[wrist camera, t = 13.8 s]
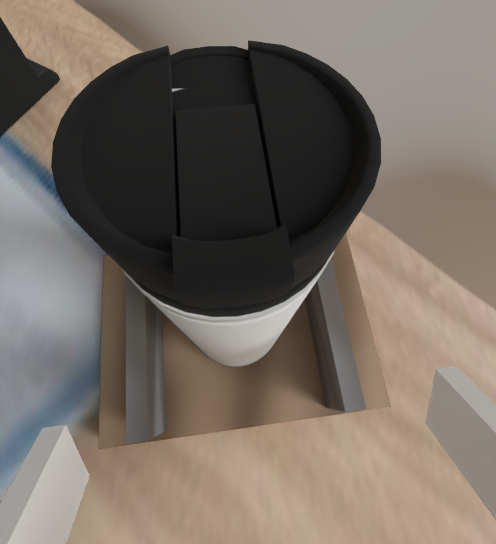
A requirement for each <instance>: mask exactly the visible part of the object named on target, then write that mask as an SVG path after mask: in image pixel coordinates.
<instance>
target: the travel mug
mask: <svg viewBox="0 0 496 544" xmlns="http://www.w3.org/2000/svg"><path fill="white" fill-rule="evenodd" d="M380 164H381V138H380V135H379V131H378V128H377V124H376V121H375V117H374V115H373V113H372V112H371V110H370V108H369V106H368V105H367V103H366V101H365V100H364V98H363V96H362V95H361V94H360V93H359V92H358V91H357V90H356V89H355V87H354V86H353V85H352V84H351V83H350V82H349V81H348V80H347V79H346V78H345V77H343V76H342V75H341V74H339V73H338V72H337V71H335V70H334V69H333V68H331V67H330V66H329V65H327V64H325V63H323V62H321V61H320V60H318V59H316V58H314V57H312V56H310V55H308V54H306V53H303V52H300V51H298V50H295V49H292V48H289V47H287V46H284V45H278V44H270V43H263V42H256V41H248V50H246V49H242V48H238V47H234V46H215V47H214V46H210V47H209V46H208V47H201V48H193V49H185V50H182V51H180V52H177V53H175V54H173V55H170V52H169V48H168V46H165V47H162V48H158V49H155V50H151V51H147V52H144V53H140V54H136V55H133V56H131V57H129V58H127V59H125V60H123V61H122V62H120V63H118V64H116V65H114V66H112V67H110V68H109V69H108V70H106V71H105V72H104V73H102V74H101V75H99V76H98V77H97V78H95V79H94V80H93V81H91V82H90V83H89V84H88V85H87V86H86V87H85V88H84V89H83V90H82V91H81V92H80V94H79V95H78V96H77V97H76V98H75V99H74V100H73V102H72V103H71V105H70V106H69V108H68V109H67V111H66V112H65V114H64V115H63V117H62V119H61V121H60V124H59V127H58V129H57V132H56V135H55V138H54V141H53V151H52V165H51V167H52V172H53V177H54V181H55V186H56V190H57V193H58V195H59V196H60V198H61V200H62V202H63V204H64V205H65V207H66V209H67V211H68V213H69V215H70V216H71V217H72V218H73V219H74V220H75V221H76V222H77V223H78V224H79V225H80V226H81V227H82V228H83V229H84V230H85V231H86V232H87V233H88V235H89V236H90V237H91V238H92V239H93V240H94V241H95V242H96V243H97V244H98V245H99V246H100V247H101V248H102V249H103V250H104V251H105V252H106V253H107V254H108V255H109V256H110V257H111V258H112V259H113V260H114V261H115V262H116V263H117V264H118V265H119V266H120V267H121V268H122V270H123V271H124V273H125V275H126V276H127V277H128V278H129V279H130V280H131V281H132V282H133V283H134V284H135V285H136V286H137V287H138V288H139V289H140V291H141V292H142V293H143V294H144V295H145V296H147V297H148V298H149V299H150V300H151V301H152V302H153V303H154V304H155V305H156V306H157V307H158V308H159V309H160V310H161V311H162V312H163V313H164V314H165V315H166V316H167V317H168V318H169V319H170V320H171V321H172V322H173V323H174V324H175V325H176V326H177V327H178V328H179V329H180V330H181V331H182V332H183V333H184V334H185V335H186V336H187V337H189V338H190V339H191V340H192V341H193V342H194V343H195V344H196V345H197V346H198V347H199V348H200V349H201V350H202V351H203V352H204V353H205V354H206V355H207V356H208V357H209V358H211V359H212V360H214V361H215V362H217V363H219V364H222V365H225V366H230V367H242V366H247V365H250V364H252V363H255V362H257V361H258V360H260V359H261V358H262V357H264V356H265V355H266V354H267V353H268V351H269V350H270V349H271V347H272V346H273V345H274V343H275V342H276V340H277V339H278V337H279V336H280V334H281V333H282V331H283V330H284V328H285V327H286V325H287V324H288V323H289V321H290V320H291V318H292V317H293V315H294V314H295V312H296V311H297V309H298V308H299V306H300V305H301V303H302V302H303V300H304V299H305V298H306V296H307V295H308V293H309V292H310V290H311V289H312V287H313V286H314V284H315V283H316V281H317V279H318V278H319V277H320V275H321V274H322V272H323V271H324V269H325V267H326V266H327V264H328V262H329V261H330V259H331V257H332V256H333V254H334V251H335V249H336V247H337V245H338V244H339V242H340V241H341V239H342V238H343V236H344V235H345V233H346V232H347V230H348V229H349V227H350V225H351V224H352V222H353V221H354V219H355V218H356V216H357V215H358V213H359V212H360V210H361V209H362V207H363V205H364V204H365V202H366V200H367V198H368V197H369V195H370V193H371V192H372V190H373V188H374V186H375V183H376V179H377V175H378V172H379V168H380Z"/></svg>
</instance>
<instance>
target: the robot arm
mask: <svg viewBox="0 0 496 544" xmlns="http://www.w3.org/2000/svg"><path fill="white" fill-rule="evenodd" d="M426 424H427V426H428V427H429V428H430V430H431V431H432V432H433V434H434V435H435V437H436V438H437V439H438V441H439V442H440V443H441V445H442V446H443V448H444V449H445V450H446V452H447V453H448V455H449V456H450V457H451V459H452V460H453V461H454V463H455V464H456V466H457V467H458V468H459V470H460V471H461V472H462V474H463V475H464V477H465V478H466V479H467V481H468V482H469V483H470V485H471V486H472V488H473V489H474V490H475V492H476V493H477V494H478V496H479V497H480V499H481V500H482V501H483V503H484V504H485V506H486V507H487V508H488V510H489V511H490V512H491V514H492V515H493V517H494V518H495V519H496V404H495V403H494V402H493V401H492V400H491V399H490V398H489V397H488V396H487V395H486V394H485V393H484V392H483V391H481V390H480V389H479V388H478V387H477V386H476V385H475V384H474V383H473V382H472V381H471V380H470V379H469V378H468V377H467V376H466V375H465V374H464V373H463V372H462V371H461V370H460V369H459V368H458V367H457V366H451V367H445V368H438V369H436V371H435V376H434V382H433V387H432V392H431V397H430V402H429V407H428V413H427V418H426ZM89 477H90V476H89V474H88V472H87V470H86V467H85V465H84V463H83V461H82V459H81V457H80V454H79V452H78V450H77V448H76V446H75V444H74V441H73V439H72V437H71V435H70V433H69V431H68V428H67V426H66V424H65V425H58V426H52V427H45V428H42V430H41V431H40V433H39V435H38V437H37V439H36V440H35V442H34V444H33V446H32V447H31V449H30V451H29V453H28V455H27V456H26V458H25V460H24V462H23V464H22V465H21V467H20V469H19V471H18V473H17V474H16V476H15V478H14V480H13V481H12V483H11V485H10V487H9V489H8V490H7V492H6V494H5V496H4V498H3V499H2V501H1V503H0V544H66V543H67V540H68V538H69V535H70V532H71V529H72V526H73V523H74V520H75V517H76V514H77V512H78V509H79V506H80V503H81V500H82V497H83V494H84V491H85V488H86V486H87V483H88V480H89Z"/></svg>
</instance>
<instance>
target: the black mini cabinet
mask: <svg viewBox="0 0 496 544" xmlns="http://www.w3.org/2000/svg"><path fill="white" fill-rule="evenodd" d="M59 80H60V78H59V76H58V74H57V73H56V72H54V71H52V70H51V69H48V68H46V67H44V66H42V65H40V64H38V63H35V62H33V61H31V60H29V59H27V58H26V57H25V55H24V54H23V52H22V50H21V49H20V48H19V46H18V45H17V43H16V41H15V40H14V38H13V37H12V35H11V33H10V32H9V30H8V29H7V27H6V25H5V24H4V22H3V21H2V19H1V18H0V136H1V135H2V134H3V133H4V132H5V131H6V130H7V129H8V128H9V127H10V126H11V125H13V124H14V123H15V122H16V121H17V120H18V119H19V118H20V117H21V116H22V115H23V114H24V113H25V112H26V111H27V110H29V109H30V108H31V107H32V106H33V105H34V104H35V103H36V102H37V101H38V100H39V99H41V97H42V96H43V95H44V94H46V93H47V92H48V91H49V90H50V89H51V88H52V87H53V86H54V85H55V84H56V83H57V82H58V81H59Z"/></svg>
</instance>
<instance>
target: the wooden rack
mask: <svg viewBox="0 0 496 544" xmlns="http://www.w3.org/2000/svg"><path fill="white" fill-rule="evenodd" d="M384 407H391V405H390V401H389V397H388V393H387V389H386V385H385V381H384V378H383V374H382V370H381V366H380V362H379V358H378V355H377V351H376V347H375V343H374V339H373V335H372V332H371V328H370V324H369V320H368V316H367V312H366V308H365V305H364V301H363V297H362V293H361V289H360V285H359V282H358V278H357V274H356V270H355V266H354V262H353V258H352V255H351V251H350V247H349V243H348V239H347V235H346V233H345V235H344V236H343V238H342V239H341V241H340V242H339V244H338V245H337V247H336V249H335V251H334V254H333V256H332V257H331V259H330V261H329V262H328V264H327V266H326V267H325V269H324V271H323V272H322V274H321V275H320V277H319V278H318V279H317V281H316V283H315V284H314V286H313V287H312V289H311V290H310V292H309V293H308V295H307V296H306V298H305V299H304V300H303V302H302V303H301V305H300V306H299V308H298V309H297V311H296V312H295V314H294V315H293V317H292V318H291V320H290V321H289V323H288V324H287V325H286V327H285V328H284V330H283V331H282V333H281V334H280V336H279V337H278V339H277V340H276V342H275V343H274V345H273V346H272V347H271V349H270V350H269V351H268V353H267V354H266V355H265V356H264V357H262V358H261V359H260V360H258V361H257V362H255V363H252V364H250V365H247V366H242V367H230V366H225V365H222V364H219V363H217V362H215V361H214V360H212V359H211V358H209V357H208V356H207V355H206V354H205V353H204V352H203V351H202V350H201V349H200V348H199V347H198V346H197V345H196V344H195V343H194V342H193V341H192V340H191V339H190V338H189V337H187V336H186V335H185V334H184V333H183V332H182V331H181V330H180V329H179V328H178V327H177V326H176V325H175V324H174V323H173V322H172V321H171V320H170V319H169V318H168V317H167V316H166V315H165V314H164V313H163V312H162V311H161V310H160V309H159V308H158V307H157V306H156V305H155V304H154V303H153V302H152V301H151V300H150V299H149V298H148V297H147V296H145V295H144V294H143V293H142V292H141V291H140V289H139V288H138V287H137V286H136V285H135V284H134V283H133V282H132V281H131V280H130V279H129V278H128V277H127V276H126V275H125V273H124V271H123V270H122V268H121V267H120V266H119V265H118V264H117V263H116V262H115V261H114V260H113V259H112V258H111V257H110V256H109V255H103V289H102V330H101V370H100V411H99V449H102V448H109V447H116V446H123V445H130V444H137V443H143V442H150V441H157V440H164V439H171V438H178V437H185V436H192V435H199V434H205V433H212V432H219V431H226V430H233V429H240V428H247V427H254V426H260V425H267V424H274V423H281V422H288V421H295V420H302V419H309V418H316V417H322V416H329V415H336V414H343V413H350V412H357V411H364V410H371V409H378V408H384Z"/></svg>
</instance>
